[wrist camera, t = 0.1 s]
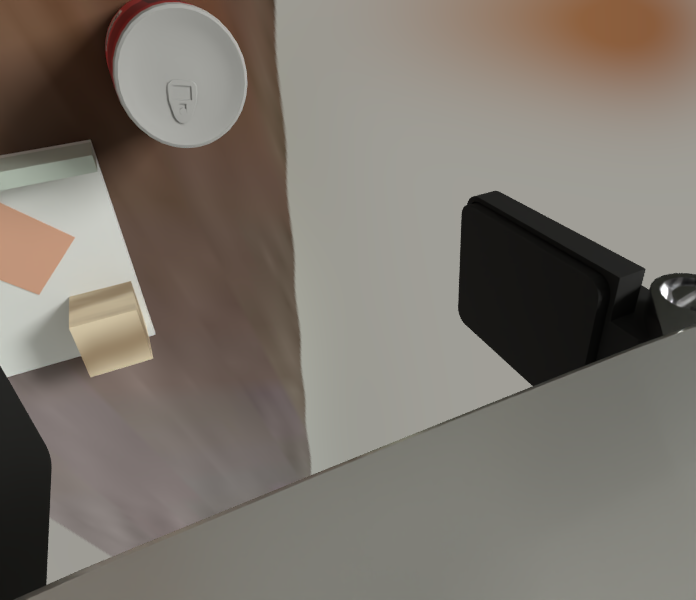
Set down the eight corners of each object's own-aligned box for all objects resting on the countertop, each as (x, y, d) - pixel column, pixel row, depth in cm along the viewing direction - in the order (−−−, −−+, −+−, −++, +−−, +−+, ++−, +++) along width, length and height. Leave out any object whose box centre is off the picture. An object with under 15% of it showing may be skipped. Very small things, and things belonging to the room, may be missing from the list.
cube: (69, 296, 45) (68, 328, 41) (131, 281, 47) (136, 309, 43) (89, 343, 48) (90, 377, 44) (146, 327, 50) (153, 358, 46)
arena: (-136, 179, 37) (-157, 200, 33) (90, 139, 41) (91, 155, 38) (-18, 379, 47) (-25, 411, 43) (154, 330, 51) (160, 355, 47)
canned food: (128, 122, 41) (142, 163, 33) (84, 5, 37) (88, 18, 28) (224, 98, 43) (262, 131, 35) (194, -16, 39) (229, -10, 30)
